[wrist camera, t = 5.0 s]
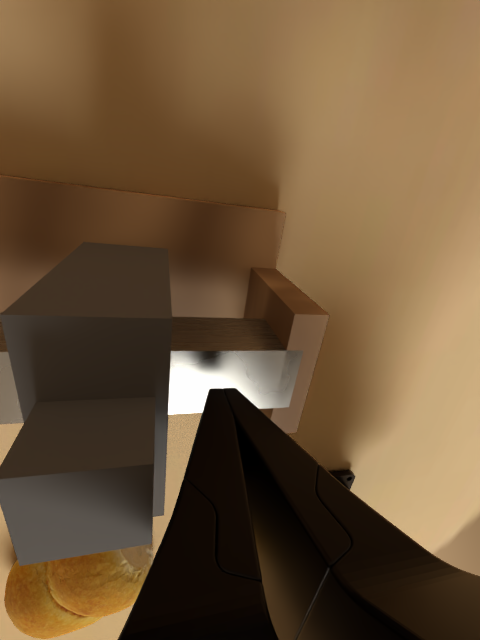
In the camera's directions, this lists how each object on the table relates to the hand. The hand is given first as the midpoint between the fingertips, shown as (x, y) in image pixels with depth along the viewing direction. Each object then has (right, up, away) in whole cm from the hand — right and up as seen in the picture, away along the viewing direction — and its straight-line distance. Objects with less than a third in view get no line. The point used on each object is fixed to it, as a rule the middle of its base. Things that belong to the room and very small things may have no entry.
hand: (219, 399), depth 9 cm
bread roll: (-11, -15, +13) cm, 22 cm away
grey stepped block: (-4, +2, +4) cm, 6 cm away
